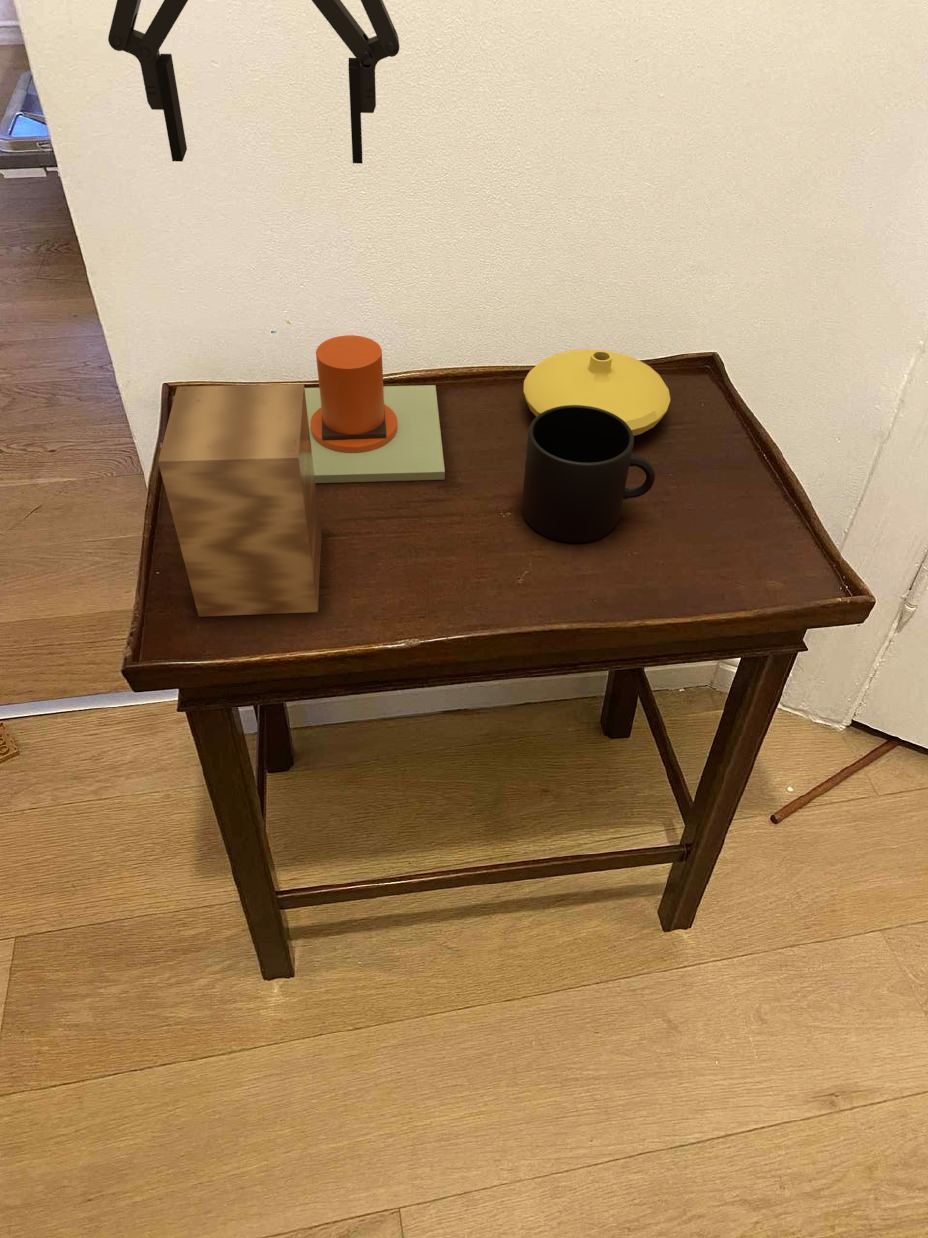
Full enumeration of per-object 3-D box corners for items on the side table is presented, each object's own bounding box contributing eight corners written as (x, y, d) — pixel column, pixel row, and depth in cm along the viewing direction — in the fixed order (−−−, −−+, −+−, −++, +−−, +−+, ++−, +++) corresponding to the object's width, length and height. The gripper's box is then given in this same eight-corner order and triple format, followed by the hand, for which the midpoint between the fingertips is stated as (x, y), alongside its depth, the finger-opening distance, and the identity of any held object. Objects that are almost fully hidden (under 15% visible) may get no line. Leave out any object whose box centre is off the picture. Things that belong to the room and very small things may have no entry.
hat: (310, 454, 92) (301, 377, 85) (311, 405, 98) (303, 329, 92) (399, 451, 92) (397, 374, 86) (395, 402, 99) (392, 327, 92)
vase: (679, 455, 95) (693, 396, 90) (529, 457, 94) (534, 398, 89) (649, 375, 106) (660, 318, 101) (514, 376, 105) (518, 319, 100)
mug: (647, 551, 84) (665, 471, 78) (518, 539, 85) (525, 459, 78) (644, 489, 91) (661, 411, 84) (524, 478, 91) (531, 400, 85)
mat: (262, 484, 90) (260, 476, 89) (272, 396, 101) (271, 388, 100) (444, 479, 91) (444, 471, 90) (435, 392, 102) (435, 384, 101)
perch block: (198, 617, 77) (157, 461, 65) (211, 539, 84) (177, 386, 72) (318, 612, 78) (298, 457, 66) (321, 535, 85) (304, 383, 73)
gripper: (1, -220, 52) (94, 171, 67) (438, -200, 54) (432, 175, 69) (34, -228, 57) (112, 137, 72) (430, -209, 59) (427, 141, 74)
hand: (269, 156), depth 71 cm, fingers open, 13 cm apart
